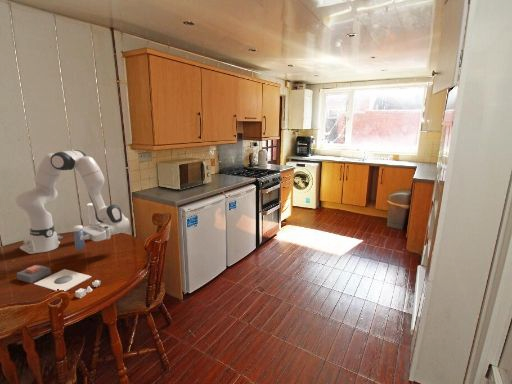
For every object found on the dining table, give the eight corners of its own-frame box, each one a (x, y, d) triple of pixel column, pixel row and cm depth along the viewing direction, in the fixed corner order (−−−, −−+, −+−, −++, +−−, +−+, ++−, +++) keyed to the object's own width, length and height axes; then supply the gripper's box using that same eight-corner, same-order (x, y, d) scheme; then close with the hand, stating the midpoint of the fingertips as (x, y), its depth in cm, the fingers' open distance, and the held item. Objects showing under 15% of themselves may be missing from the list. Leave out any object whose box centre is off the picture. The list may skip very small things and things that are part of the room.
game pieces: (81, 299, 131) (80, 292, 130) (75, 297, 131) (74, 291, 131) (102, 285, 142) (101, 279, 141) (96, 284, 143) (96, 278, 142)
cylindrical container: (104, 237, 201) (101, 203, 196) (96, 240, 195) (92, 205, 189) (96, 235, 204) (93, 202, 198) (88, 239, 197) (84, 204, 192)
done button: (26, 274, 146) (25, 268, 145) (35, 270, 150) (34, 265, 149) (32, 275, 144) (31, 270, 144) (41, 271, 148) (40, 266, 148)
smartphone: (51, 240, 193) (41, 235, 200) (51, 241, 193) (41, 236, 200) (63, 236, 199) (52, 231, 206) (63, 238, 199) (52, 233, 207)
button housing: (17, 279, 144) (16, 273, 144) (38, 270, 154) (37, 264, 153) (30, 283, 141) (29, 276, 140) (51, 273, 150) (50, 267, 150)
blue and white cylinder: (73, 249, 158) (70, 227, 155) (80, 246, 162) (78, 224, 159) (79, 250, 156) (76, 228, 153) (86, 247, 161) (84, 225, 158)
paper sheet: (33, 284, 141) (33, 283, 141) (64, 269, 155) (64, 268, 155) (62, 292, 134) (62, 292, 134) (91, 276, 149) (91, 276, 149)
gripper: (92, 221, 173) (67, 227, 162) (110, 229, 162) (85, 236, 151) (93, 231, 174) (69, 238, 163) (111, 239, 163) (86, 247, 152)
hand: (77, 237), depth 157 cm, fingers closed on blue and white cylinder, 4 cm apart
